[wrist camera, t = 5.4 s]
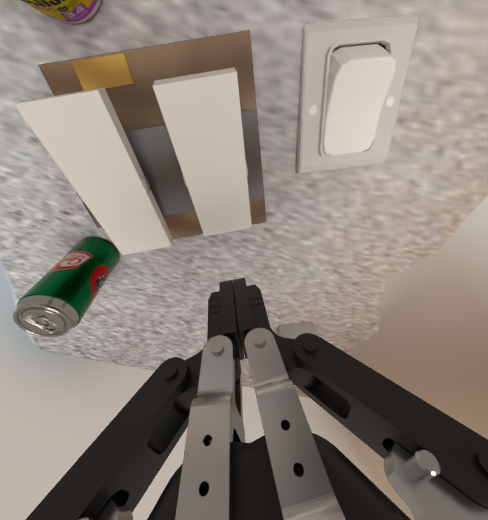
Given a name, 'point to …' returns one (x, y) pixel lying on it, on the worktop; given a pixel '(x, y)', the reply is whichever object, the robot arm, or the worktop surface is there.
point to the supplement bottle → (66, 9)
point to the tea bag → (296, 330)
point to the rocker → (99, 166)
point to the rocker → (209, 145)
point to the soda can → (66, 290)
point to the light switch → (351, 90)
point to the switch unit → (151, 119)
